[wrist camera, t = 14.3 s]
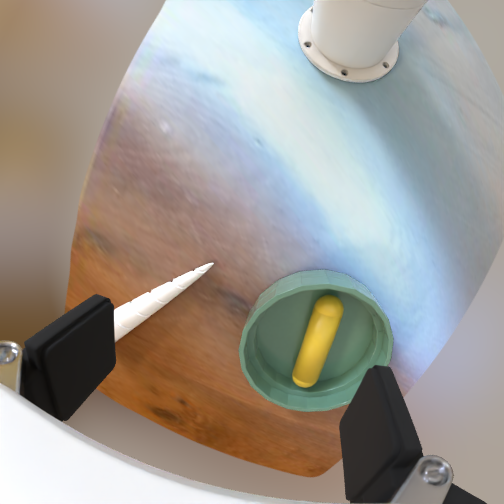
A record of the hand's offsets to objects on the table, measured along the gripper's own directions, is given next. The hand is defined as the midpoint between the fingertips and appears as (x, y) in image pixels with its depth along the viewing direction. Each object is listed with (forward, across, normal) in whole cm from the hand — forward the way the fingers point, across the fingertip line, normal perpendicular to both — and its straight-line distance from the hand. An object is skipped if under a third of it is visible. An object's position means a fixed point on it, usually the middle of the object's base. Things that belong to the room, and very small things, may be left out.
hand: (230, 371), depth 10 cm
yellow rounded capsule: (+26, -8, +12) cm, 30 cm away
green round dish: (+26, -8, +12) cm, 30 cm away
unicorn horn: (+26, +16, +14) cm, 34 cm away
